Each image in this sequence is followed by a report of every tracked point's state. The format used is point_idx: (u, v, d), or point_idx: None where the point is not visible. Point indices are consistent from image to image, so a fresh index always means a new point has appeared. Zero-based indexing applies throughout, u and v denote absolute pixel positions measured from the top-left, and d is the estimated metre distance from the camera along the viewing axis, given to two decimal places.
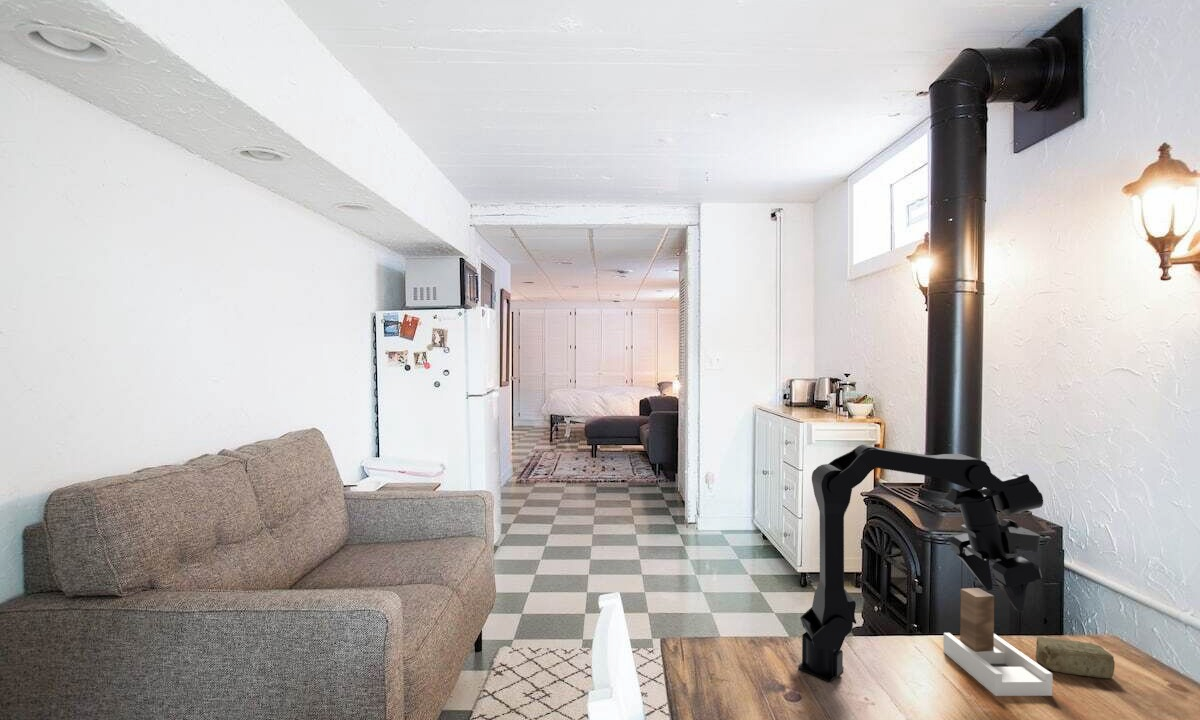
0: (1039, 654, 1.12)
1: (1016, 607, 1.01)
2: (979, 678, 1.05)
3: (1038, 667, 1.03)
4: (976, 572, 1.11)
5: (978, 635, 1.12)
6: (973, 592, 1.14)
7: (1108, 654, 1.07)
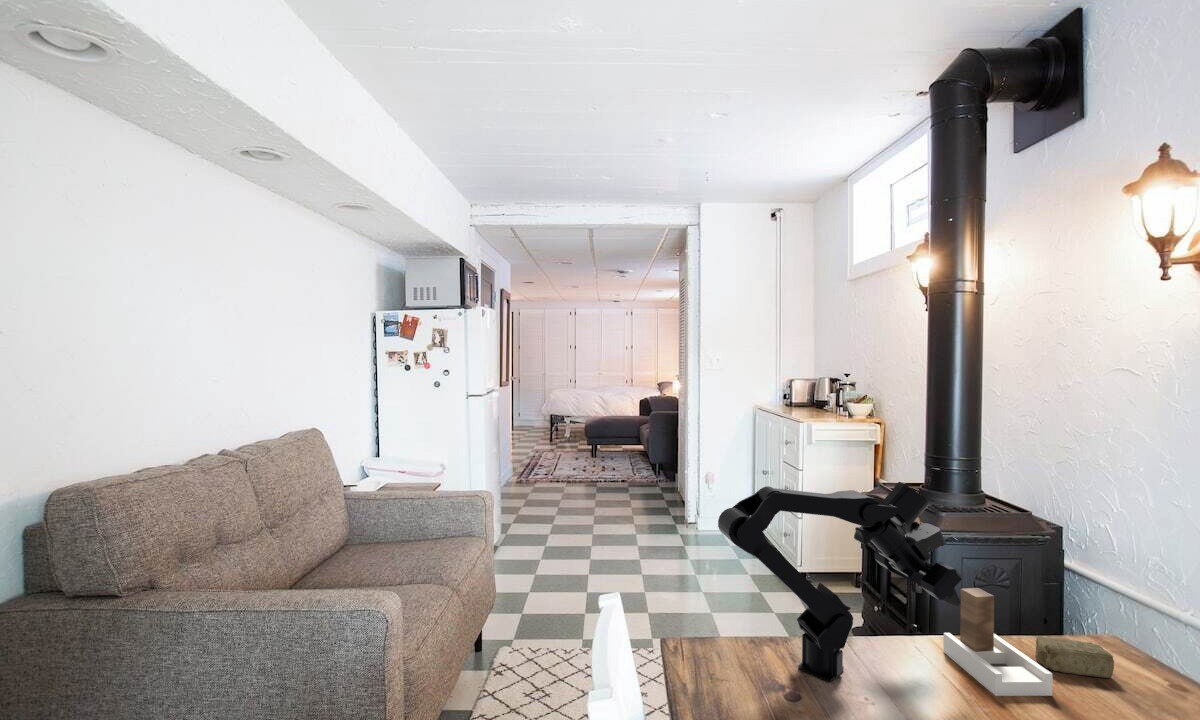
0: (1039, 653, 1.12)
1: (954, 604, 1.07)
2: (979, 678, 1.05)
3: (1038, 667, 1.03)
4: (908, 577, 1.17)
5: (978, 635, 1.12)
6: (973, 592, 1.14)
7: (1107, 653, 1.07)
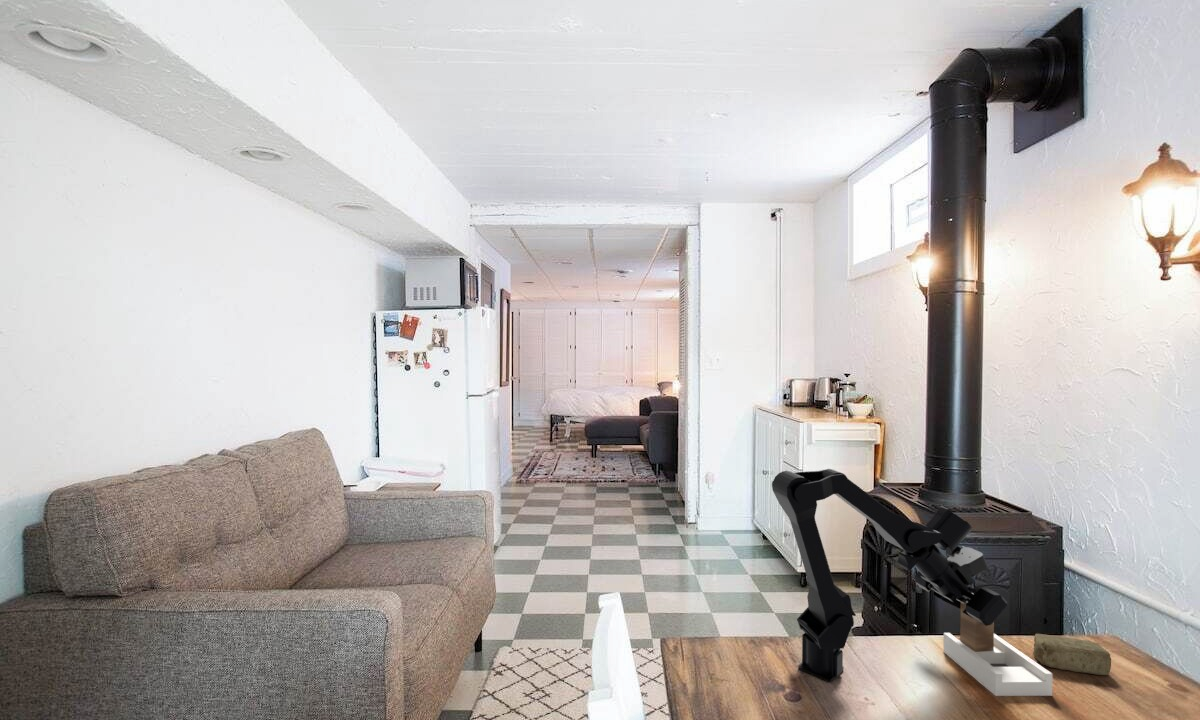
0: (1036, 650, 1.13)
1: None
2: (979, 678, 1.05)
3: (1038, 667, 1.03)
4: (957, 605, 1.16)
5: (978, 635, 1.12)
6: None
7: (1105, 651, 1.08)
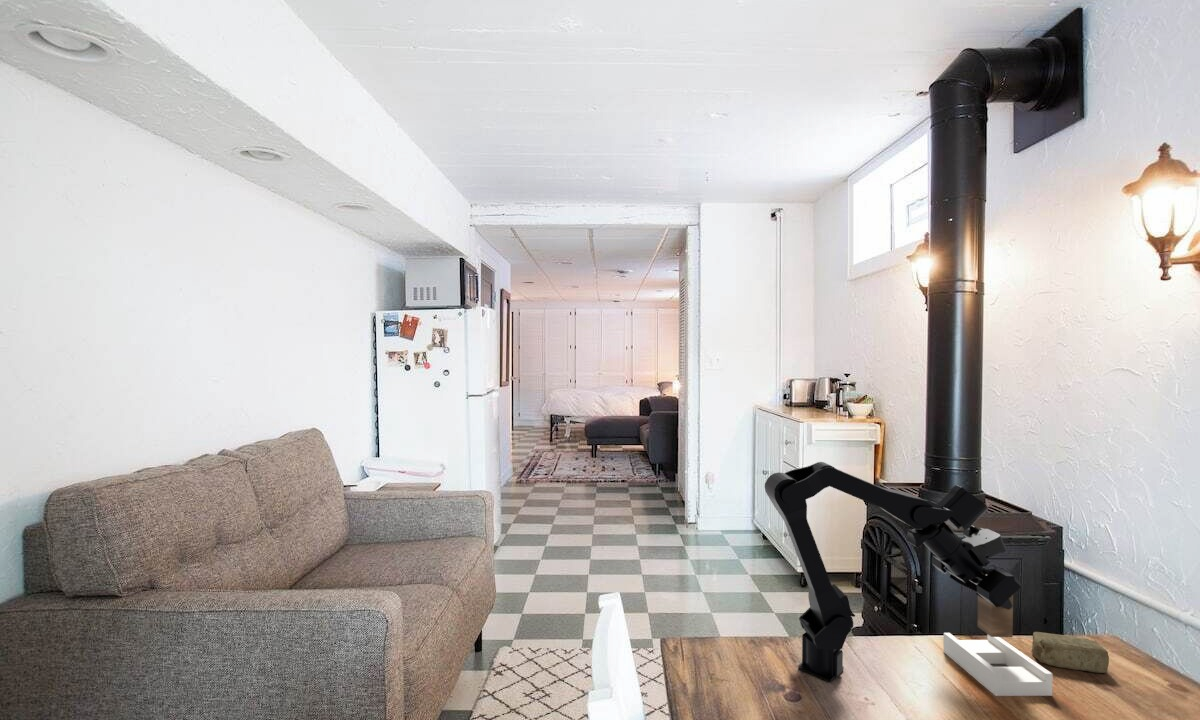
0: (1034, 648, 1.14)
1: (1005, 607, 1.06)
2: (979, 678, 1.05)
3: (1038, 667, 1.03)
4: (975, 589, 1.11)
5: (995, 619, 1.07)
6: None
7: (1102, 649, 1.09)
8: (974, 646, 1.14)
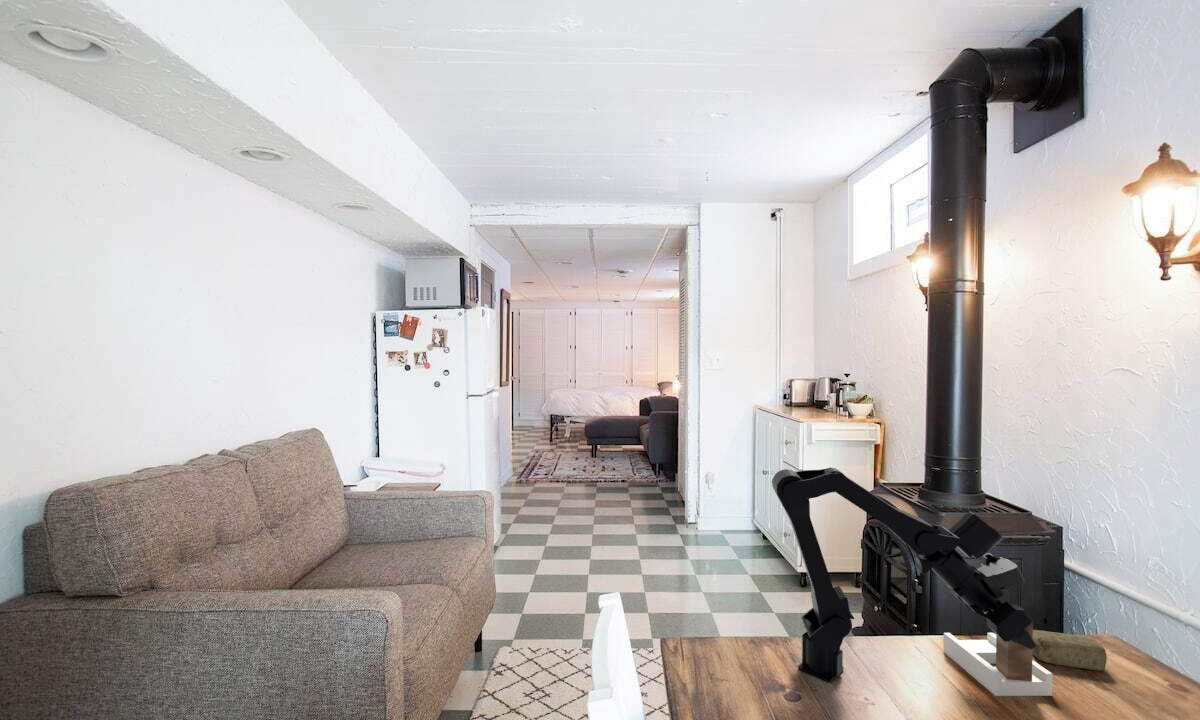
0: None
1: (1027, 646, 1.00)
2: (979, 678, 1.05)
3: (1038, 667, 1.03)
4: None
5: (1011, 661, 1.02)
6: None
7: (1100, 647, 1.09)
8: (974, 646, 1.14)
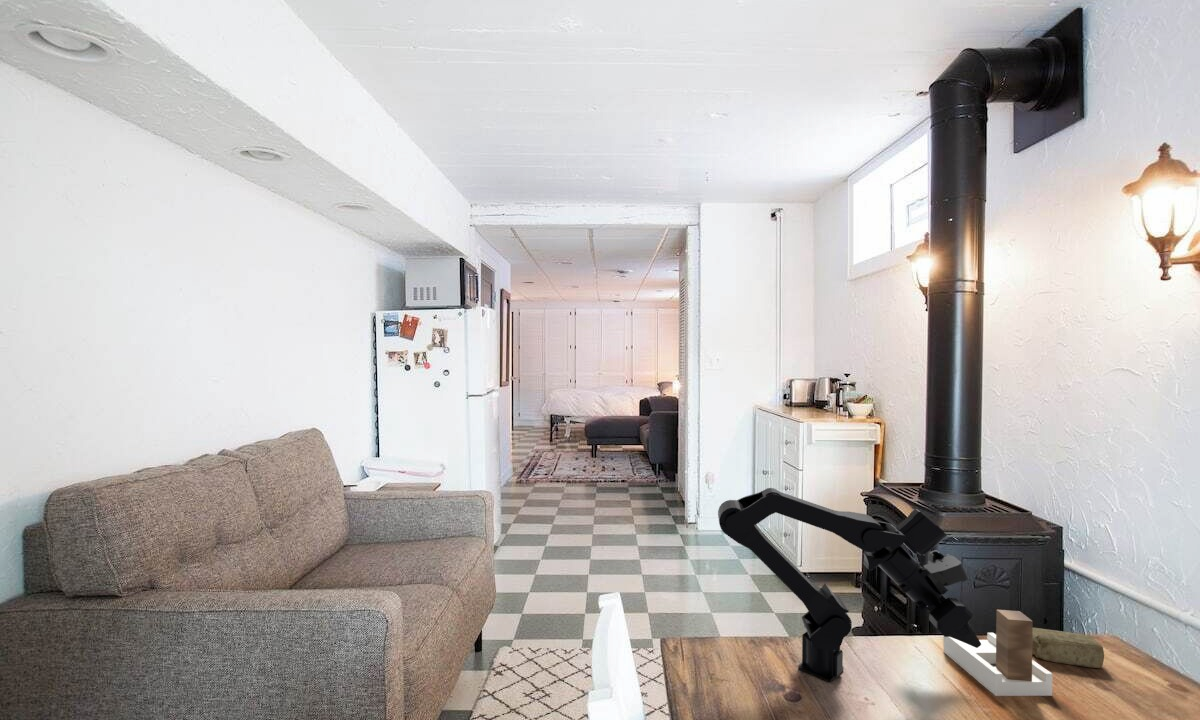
0: None
1: (973, 645, 1.00)
2: (979, 678, 1.05)
3: (1038, 667, 1.03)
4: None
5: (1011, 661, 1.02)
6: (1009, 614, 1.04)
7: (1098, 644, 1.10)
8: None
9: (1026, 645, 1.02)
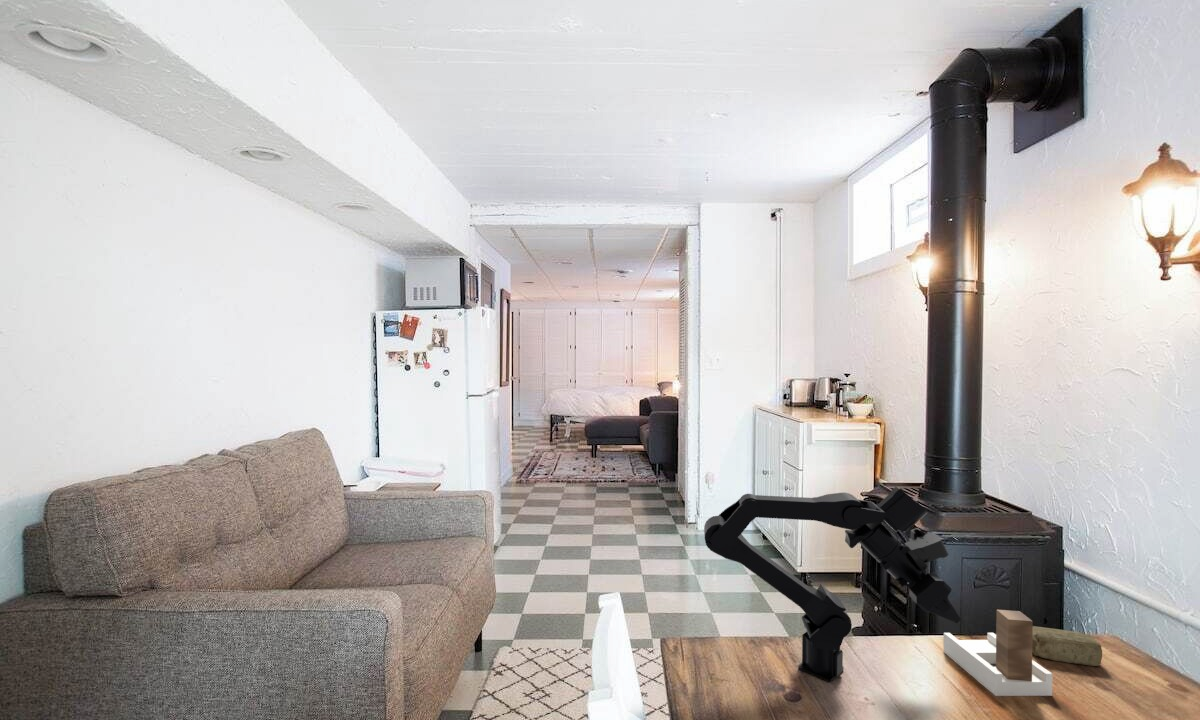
0: None
1: (952, 620, 1.01)
2: (979, 678, 1.05)
3: (1038, 667, 1.03)
4: None
5: (1011, 661, 1.02)
6: (1009, 614, 1.04)
7: (1096, 643, 1.11)
8: (974, 646, 1.14)
9: (1026, 645, 1.02)
